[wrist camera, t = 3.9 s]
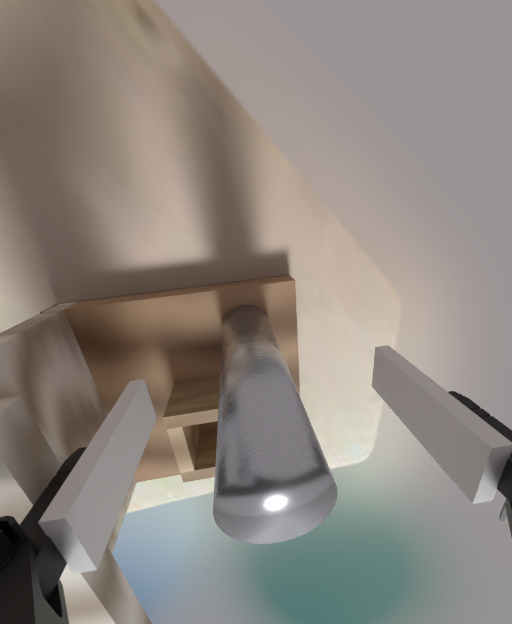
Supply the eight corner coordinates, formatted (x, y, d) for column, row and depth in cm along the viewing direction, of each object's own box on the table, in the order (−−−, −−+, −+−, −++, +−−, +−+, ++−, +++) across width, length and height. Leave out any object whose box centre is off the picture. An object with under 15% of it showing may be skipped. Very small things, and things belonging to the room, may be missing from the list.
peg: (219, 307, 20) (202, 474, 7) (266, 301, 20) (339, 450, 7) (225, 349, 21) (223, 553, 8) (270, 343, 21) (335, 530, 8)
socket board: (57, 304, 20) (-287, 471, 7) (289, 275, 22) (392, 366, 8) (127, 467, 27) (30, 704, 14) (297, 438, 29) (358, 628, 15)
